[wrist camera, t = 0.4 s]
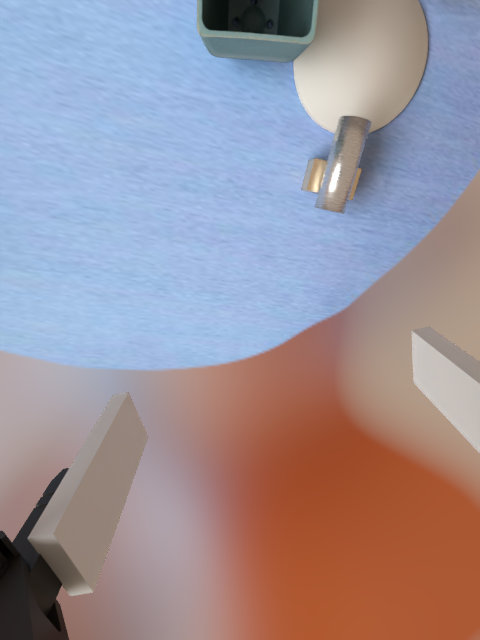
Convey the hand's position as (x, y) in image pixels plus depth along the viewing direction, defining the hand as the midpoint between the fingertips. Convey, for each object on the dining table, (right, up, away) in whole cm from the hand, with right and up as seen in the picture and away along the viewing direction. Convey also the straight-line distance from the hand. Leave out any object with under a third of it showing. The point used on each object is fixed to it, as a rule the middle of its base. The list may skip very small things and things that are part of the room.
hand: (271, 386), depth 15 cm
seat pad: (+10, +29, +17) cm, 35 cm away
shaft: (+8, +20, +20) cm, 29 cm away
